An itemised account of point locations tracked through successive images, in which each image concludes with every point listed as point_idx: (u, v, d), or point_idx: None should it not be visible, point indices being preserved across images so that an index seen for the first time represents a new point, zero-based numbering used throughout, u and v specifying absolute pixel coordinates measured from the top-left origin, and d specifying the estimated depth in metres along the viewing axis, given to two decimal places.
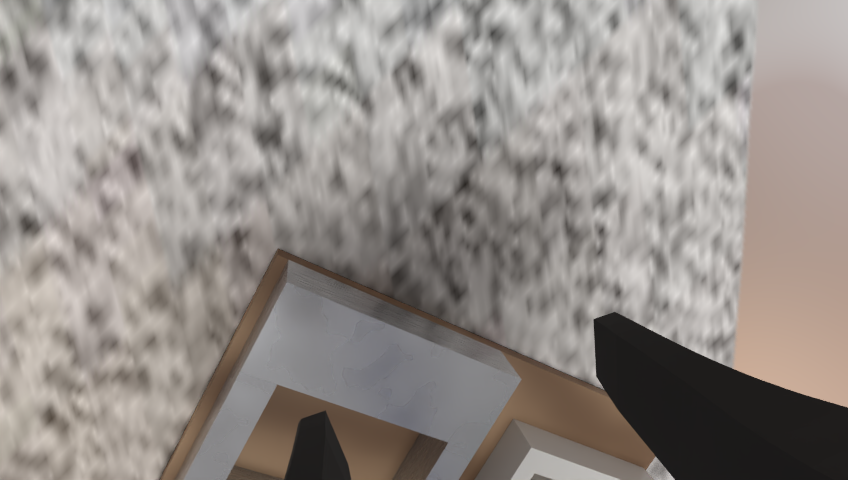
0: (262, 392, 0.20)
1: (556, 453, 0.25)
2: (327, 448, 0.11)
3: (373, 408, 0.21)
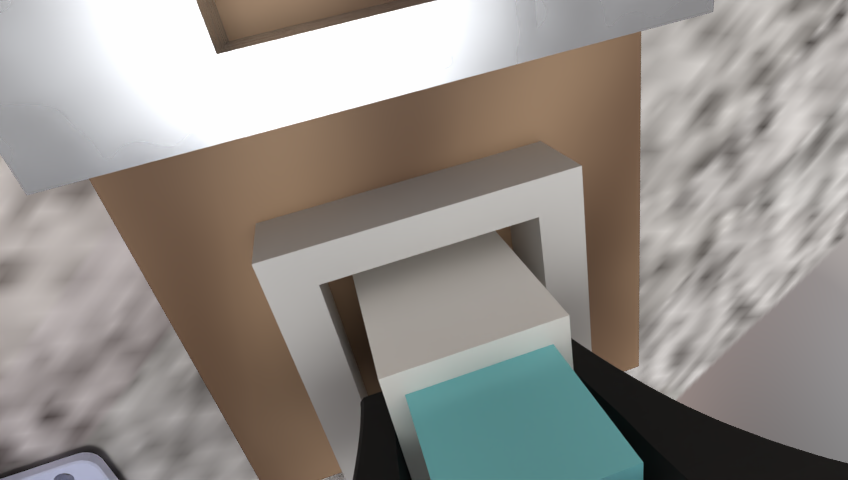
0: None
1: (579, 224, 0.13)
2: None
3: None
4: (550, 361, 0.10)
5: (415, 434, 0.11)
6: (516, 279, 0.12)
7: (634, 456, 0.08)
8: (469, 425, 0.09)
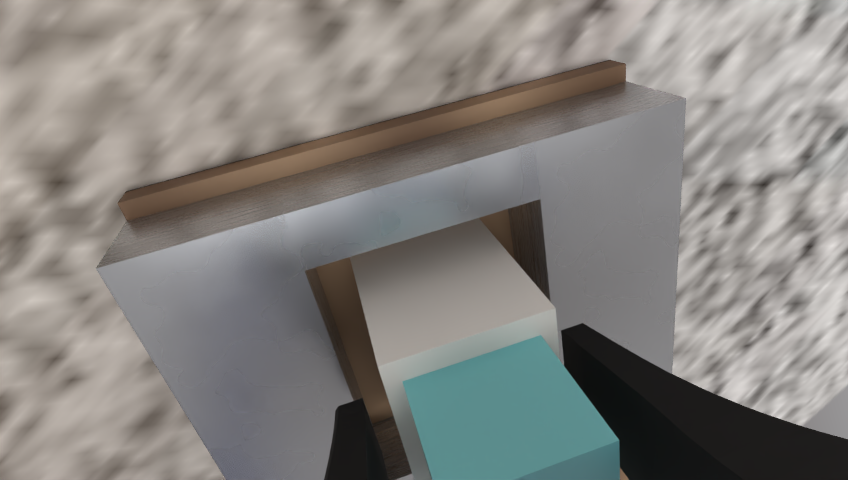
0: (519, 190, 0.12)
1: None
2: (367, 434, 0.11)
3: (564, 320, 0.15)
4: (537, 350, 0.11)
5: (412, 419, 0.11)
6: (507, 275, 0.12)
7: (612, 434, 0.09)
8: (461, 408, 0.10)
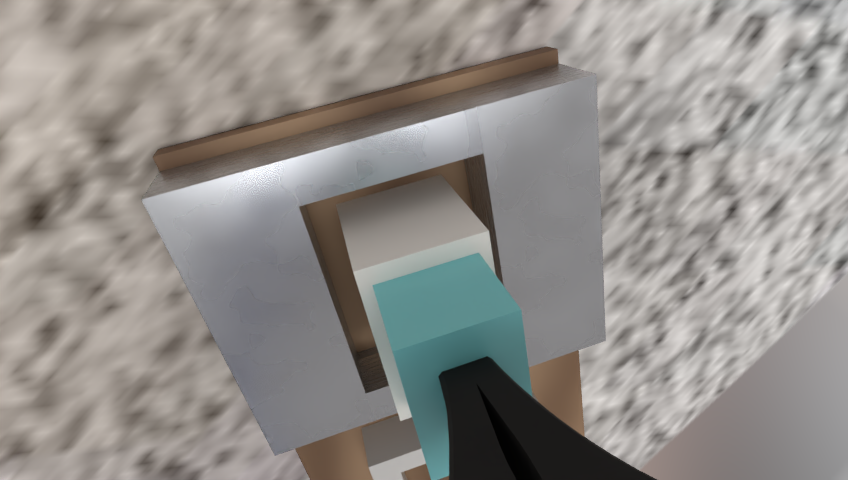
0: (466, 146, 0.16)
1: None
2: None
3: (509, 256, 0.18)
4: (474, 262, 0.14)
5: (380, 317, 0.15)
6: (457, 212, 0.16)
7: (517, 308, 0.12)
8: (414, 298, 0.13)
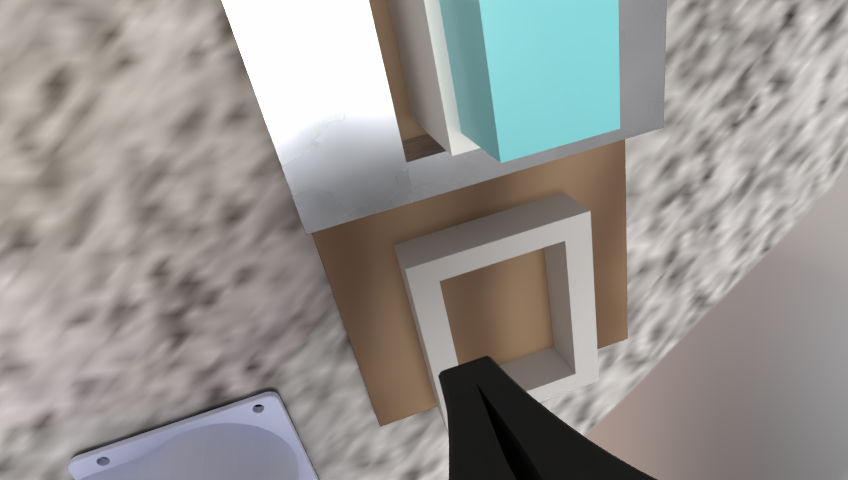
0: None
1: (589, 244, 0.22)
2: None
3: None
4: None
5: None
6: None
7: None
8: None
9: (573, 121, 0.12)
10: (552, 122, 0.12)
